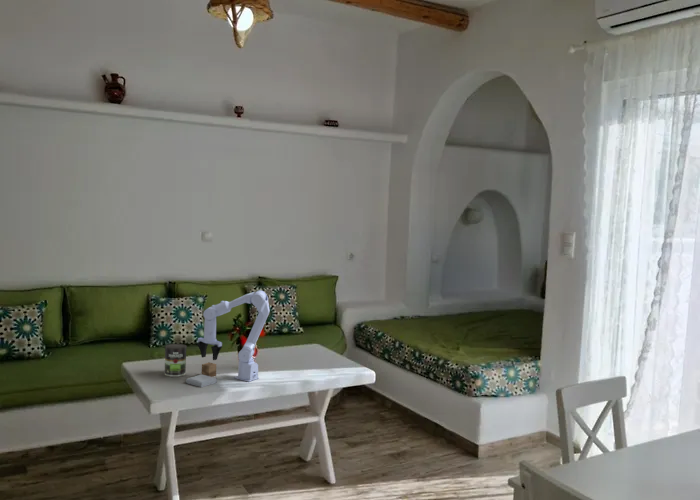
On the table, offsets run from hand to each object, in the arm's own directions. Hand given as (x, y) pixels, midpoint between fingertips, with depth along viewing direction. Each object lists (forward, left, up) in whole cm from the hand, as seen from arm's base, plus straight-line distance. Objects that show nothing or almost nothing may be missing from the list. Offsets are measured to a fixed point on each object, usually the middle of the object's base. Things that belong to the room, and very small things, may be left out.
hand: (209, 358), depth 301 cm
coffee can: (+15, +8, -9) cm, 19 cm away
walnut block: (0, 0, -9) cm, 9 cm away
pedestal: (-5, +10, -9) cm, 14 cm away
